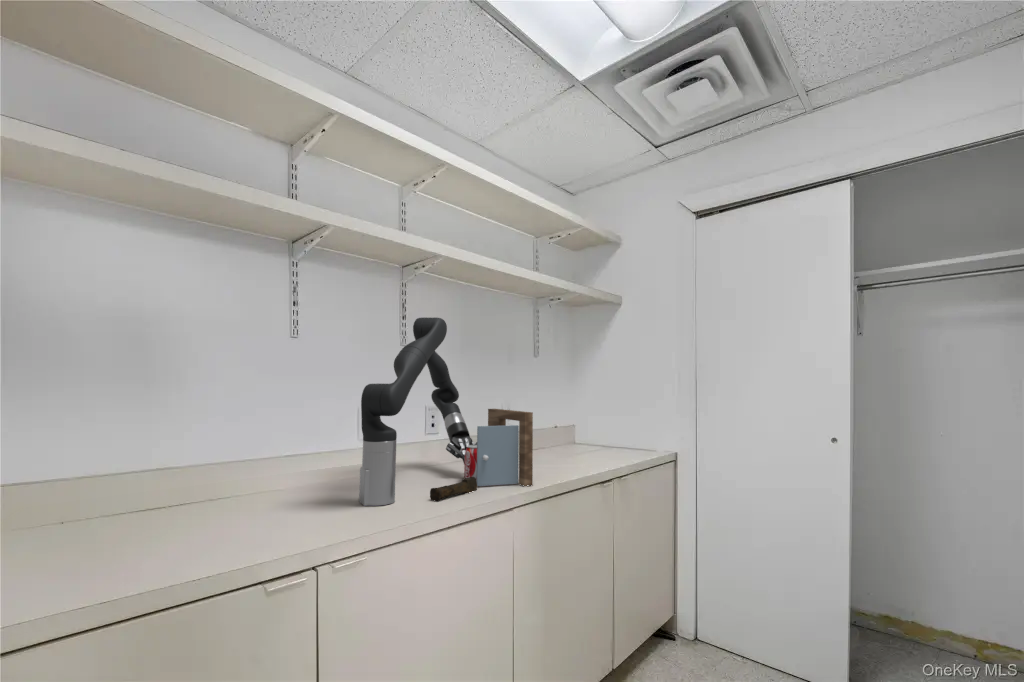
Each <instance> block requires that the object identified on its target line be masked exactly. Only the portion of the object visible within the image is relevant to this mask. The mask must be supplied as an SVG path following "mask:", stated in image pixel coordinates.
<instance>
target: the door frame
mask: <svg viewBox="0 0 1024 682" xmlns="http://www.w3.org/2000/svg"><path fill="white" fill-rule="evenodd" d="M533 414H534V413H533V412H531V411H523V410H522V411H521V410H514V409H513V410H512V409H503V408H487V426H507V424H506V423H507V421H506V420H509V421H516V422H518V426H519V445H518V485H519V484H521V485H524V486H527V485H532V486H533V482H534V481H533V477H534V476H533V473H534V471H533V468H534V467H533V459H534V458H533V456H534V454H533V453H534V451H533V448H534V445H533V441H534V440H533V438H534V437H533V436H534V435H533V432H534V428H533V425H534V424H533V423H534V419H533V418H534V415H533ZM521 485H520V486H521ZM524 486H523V487H524ZM527 487H528V486H527Z"/></svg>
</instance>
